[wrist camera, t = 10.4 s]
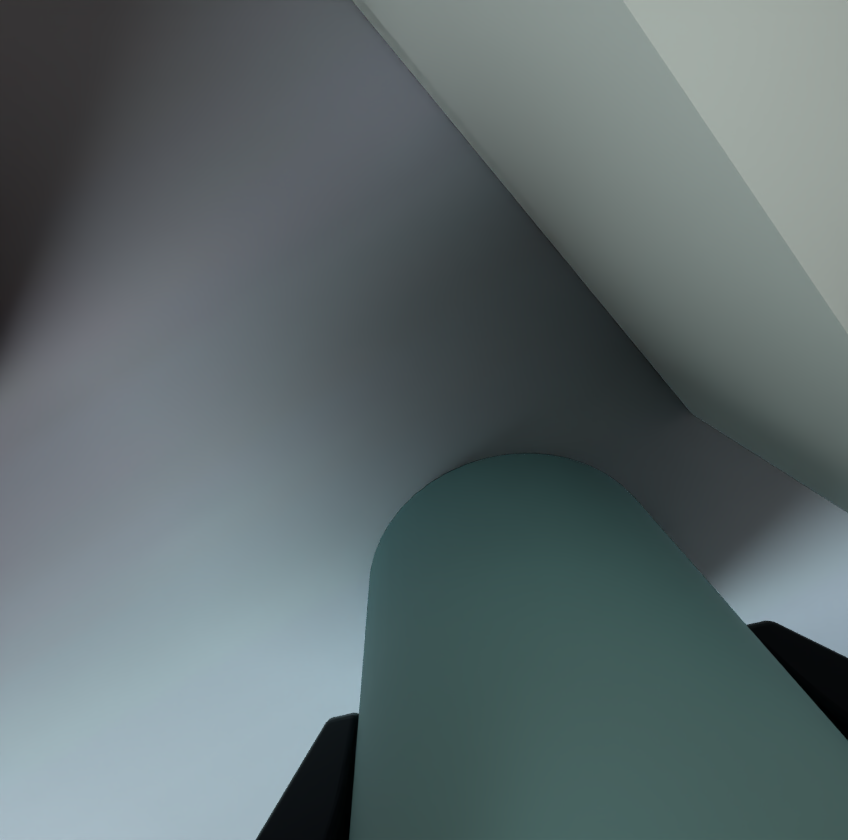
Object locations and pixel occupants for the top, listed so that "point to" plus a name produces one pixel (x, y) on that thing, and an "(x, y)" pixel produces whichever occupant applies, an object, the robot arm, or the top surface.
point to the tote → (676, 185)
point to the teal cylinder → (572, 678)
